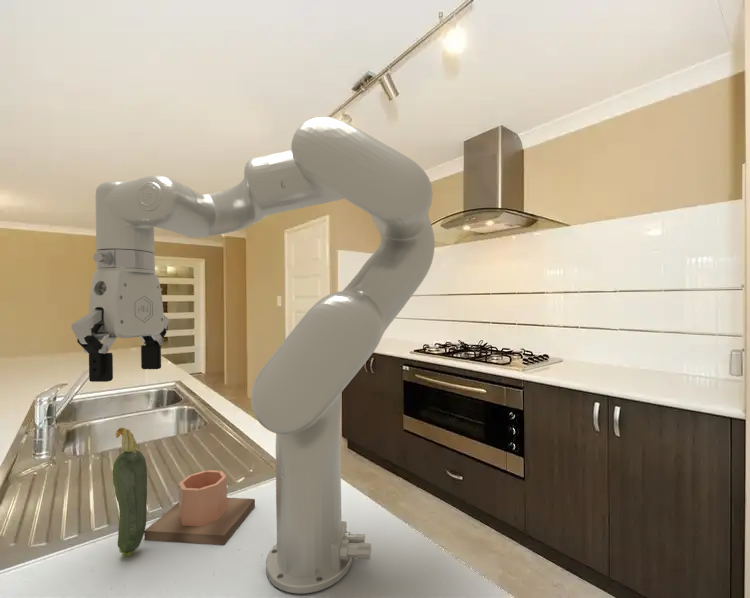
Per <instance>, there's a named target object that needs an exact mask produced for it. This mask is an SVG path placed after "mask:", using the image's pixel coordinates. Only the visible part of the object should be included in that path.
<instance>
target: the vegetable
mask: <svg viewBox="0 0 750 598" xmlns="http://www.w3.org/2000/svg"><path fill="white" fill-rule="evenodd" d="M121 435H122V436H121ZM120 436H121V447H122V448H121V449H120V451H123V452H121V453H120V454H119V456H117V457H116V459H115V461H114V464H113V466H112V471H111V473H112V483H113V488H114V489H113V490H114V495H115V498H116V501H117V506H118V511H119V512H118V513H119V514H118V515H119V522H118V534H117V536H118V537H117V547H118V549H119V553H120V554H121V556H122V558H124V557H125V558H126V557H130V556H132V555H133V554H134V553H135V551H136V550H137V549H138V548H139V547H140V546H141V543H142V541H143V538H144V531H145V530H146V527H147V511H148V510H147V503H148V501H147V500H148V488H147V487H148V467H147V462H146V461H147V460H146V457H145V456H144V454H143V453H142V452H141V451H139V450H138V449H137V448H138V443H137V440H136V439H135V435H134V434H133V433H132V432H131V429H127V428H126V427H119V428H118V429H117V430H116V432H115V439H117V438H119V437H120Z"/></svg>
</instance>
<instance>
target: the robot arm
mask: <svg viewBox="0 0 750 598" xmlns="http://www.w3.org/2000/svg"><path fill="white" fill-rule="evenodd" d="M290 146H291V148H290V149H287V150H282V151H278V152H274V153H269V154H264V155H259V156H254V157H252V158H250V159H248V160H247V162H246V163H245V166H244V171H243V173H244V174H243V175H244V176H243V179H242V180H241V181H240V182H239V183H238V184H236V185H235V186H233V187H231V188H227V189H223V190H220V191H215V192H209V193H205V194H201V193H200V192H198V191H196V190H193V189H192V188H190V187H189V186H186V185H185V184H182V182H179V181H177V180H175V179H173V178H171V177H169V176H165V175H161V174H160V175H157V174H156V175H155V174H153V175H148V176H144V177H140V178H137V179H133V180H130V181H116V180H114V181H112V180H110V181H105V182H102V183H100V184H99V185H98V186H97V187H96V190H95V240H96V241H95V242H96V243H95V248H96V252H95V253H94V254H93V260H94V261H95V262H96V263H95V265H96V267H95V268H96V271H94V273H93V275H92V280H91V287H90V294H89V304H88V313H87V314H86V315H85V316H83V317H81V318H79V319H78V320H76V321H74V322H73V323H72V324H71V325H70V327H71V330H72V331H73V333H74V335H75V337H76V342H77V343H78V344H79V345H80V346H81V348H83V353H85V354H86V355H88V380H89V382H92V383H96V382H97V383H99V382H100V383H103V382H104V383H105V382H106V383H107V382H111V381H112V380H113V378H114V364H113V363H114V362H113V361H114V358H113V352H109V350H110V349H111V347H112V346H113V345H114V343H115V342H116V340H117V338H119V339H133V338H140V340H141V341H142V343H143V345H140V346H141V347H140V356H141V357H140V367H141V369H142V370H159V369H160V370H161V368H162V345H163V343H164V337H165V336H166V334H167V329H168V326H169V323H170V318H169V317H167V316H166V315H164V314H165V313H164V306H163V305H164V304H163V294H162V289H161V284H160V279H159V277H158V274H156V266H155V265H156V264H155V263H156V261H155V259H156V258H155V254H156V253H155V228H158V229H162V230H165V231H169V232H172V233H176V234H179V235H181V236H185V237H189V238H195V239H196V238H199V239H200V238H208V237H213V236H220V235H225V234H230V233H234V232H238V231H241V230H244V229H246V228H249V227H250V226H253V225H254V224H256V223H258V222H260V221H262V220H263V219H264V218H266V217H268V216H271V215H276V214H280V213H284V212H290V211H293V210H297V209H302V208H303V209H304V208H307V207H312V206H317V205H323V204H327V203H332V202H337V201H341V200H346V201H347V202H349V203H350V204H353V205H354V206H357V208H359V209H361V210H363V211H364V212H366V213H368V214H369V215H370V216H371V218H372V221H373V224H374V225H375V227H376V228H377V230H378V232H379V234H380V242H379V246H377V247H378V248H377V249H376V250H375V252H373V253H372V255H371V256H369V258H368V259H367V261H365V263H364V264H363V266H362V267H361V268H360V269H359V271H358V272H357V274H356V275H355V276H354V277H353V278H352V279H351V280H350V281H349V283H348V284H347V286H345V288H343V290H340V291H336V292H332V293H329V294H327V295H325V296H323V297H322V298H321V299H319V300H317V301H316V302H315V304H314V305H312V306H311V308H310V309H308V311H307V312H305V314H304V315H303V316H302V318H301V319H300V320H299V321H298V323H297V324H296V325H295V326H294V327H293V329H292V331H291V332H290V333H289V334H288V335H287V337H286V338H285V339H284V340H283V341H282V343H281V344H280V345H279V347H277V349H276V350H275V352H274V353H273V354H272V355H271V357H270V358H269V359H268V360H267V362H266V363H265V364H264V365H263V367H261V369H260V371H259V372H258V374H257V376H256V378H255V379H254V382H253V385H252V388H251V395H250V403H251V409H252V412H253V414H254V416H255V417H254V418H256V420H257V421H258V423H259V424H260V425H261V426H262V427H263V428H264V429H266V430H267V431H269V432H272V433H275V501H276V502H275V503H276V507H275V509H276V511H275V512H276V515H275V516H276V543H275V544H274V546H272V548H271V549H270V551H269V553H268V554H267V558H266V561H265V570H266V576H267V578H268V581H269V582H270V583H271V584H272V586H275V587H276V588H278V589H280V590H281V591H283V592H286V593H292V594H310V593H317V592H319V591H323V590H325V589H327V588H330V587H332V586H333V585H334V584H337V583H338V582H339V581H340V580H341V579H343V577H345V575H346V574H347V573H348V572H349V570H350V568H351V566H352V564H353V559H358V560H369V561H370V560H371V555H372V543H369V542H366V534H363V533H356V534H355V533H351V531H347V528H348V525H347V521H345V520H342V518H343V517H342V478H341V477H342V474H341V472H342V471H341V467H342V466H341V463H342V462H341V417H342V416H341V414H342V411H341V410H342V392H344V389H345V388H346V387H347V386H348V385H349V384H350V382H351V381H352V380H353V379H354V377H355V376H356V375H357V374H358V373H359V371H360V370H361V369H362V368H363V366H365V364H366V362H368V360H369V358H370V357H372V354H373V353H375V351H376V349H377V347H378V345H379V344H380V342H381V340H382V337H383V335H384V333H385V332H386V330H387V329H388V328H389V326H390V325H391V324H392V322H393V321H394V320H395V319H396V318H397V316H398V315H399V314H400V312H401V311H402V310H403V308H404V307H405V305H406V304H407V303H408V301H409V300H410V299H411V297H413V295H414V294H415V293H416V291H417V290H418V288H419V287H420V286H421V284H422V282H423V281H424V279H425V278H426V276H427V275H428V273H429V271H430V268H431V266H432V264H433V259H434V256H435V255H434V254H435V234H434V230H433V226H432V222H431V219H430V215H429V214H430V213H429V212H430V210H431V205H432V201H433V187H432V182H431V180H430V177H429V176H428V174H427V172H426V171H425V170H424V169H423V168H422V167H421V166H420V165H419V164H418V163H417V162H415V161H414V160H413V159H411V158H409V157H408V156H406V155H405V154H404V153H401V152H399V151H397V150H396V149H394V148H392V147H391V146H389V145H388V144H385V143H383V142H382V141H380V140H378V139H377V138H375V137H374V136H372V135H370V134H368V133H366V132H364V131H362V130H361V129H359V128H357V127H355V126H354V125H352V124H350V123H348V122H346V121H344V120H341V119H338V118H335V117H331V116H317V117H313V118H310V119H308V120H306V121H304V122H303V123H302V124H301V125H299V127H297V129H296V131H295V132H294V134H293V137H292V140H291V143H290Z"/></svg>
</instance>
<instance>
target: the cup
mask: <svg viewBox="0 0 750 598" xmlns="http://www.w3.org/2000/svg"><path fill="white" fill-rule="evenodd" d="M227 477H228V476H227V475H226V474H225V473H224V472H223V470H211V469H210V470H209V469H208V470H203V471H199V472H196V473H192V474H189V475H187V476H186V477H185V478H183V479H182V480H181V481H180V482H178V502H179V518H180V520H181V523H182V525H183V526H202V525H205V524H207V523H210V522H213V521H216V520H218V519H219V518H220V517H221V516H222V515H223V514H224V513H225V511H226V510H227V498H228V491H227V490H228V489H227V486H228V485H227V484H228V483H227V482H228V481H227V480H228V479H227Z"/></svg>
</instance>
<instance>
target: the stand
mask: <svg viewBox="0 0 750 598" xmlns="http://www.w3.org/2000/svg"><path fill="white" fill-rule="evenodd" d="M255 507H256V498H247V497H246V498H245V497H244V498H243V497H242V498H240V497H227V510H226V511H225V513H224V514H223V515H222V516H221V517H220V518H219V519H218V520H216V521H213V522H210V523H207V524H205V525H202V526H183V525H182V523H181V520H180V518H179V501H178V502H177V503H176V504H174V505H173V506H172V507H171V508H169V510H168V511H166V512H165V513H164V514H162V516H159V518H158V519H157V520H155V521H154V522H153V523H152V524H150V525H149V526H148V527H147V528H145V531H144V535H143V538H144V541H153V542H154V541H157V542H173V543H187V544H188V543H189V544H204V545H206V544H207V545H217V546H218V545H223V546H224V545H225V544H226V543H227V542H228V541H229V540H230V538H231V537H232V536H233V535H234V534H235V532H236V531H237V530H238V529H239V527H240V526H241V525H242V524H243V522H244V521H245V520H246V518H247V517H248V516H249V514H251V512H252V511H253V510H254V508H255Z"/></svg>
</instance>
